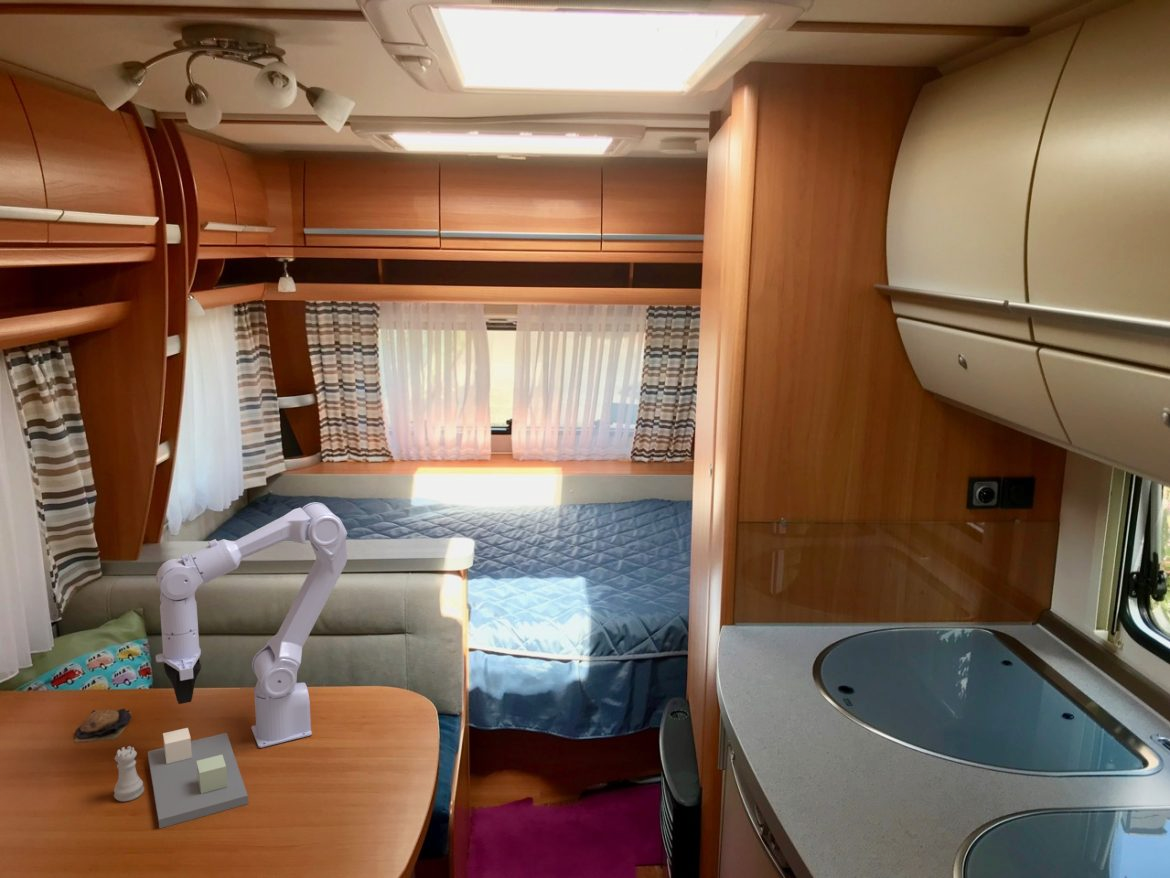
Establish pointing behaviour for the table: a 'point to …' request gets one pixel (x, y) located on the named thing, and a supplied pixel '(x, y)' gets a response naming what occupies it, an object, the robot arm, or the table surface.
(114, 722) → the abalone
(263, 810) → the table surface
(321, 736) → the table surface
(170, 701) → the table surface
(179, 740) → the cream matte cube
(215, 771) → the pale green cube
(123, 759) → the rook chess piece
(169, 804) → the panel
